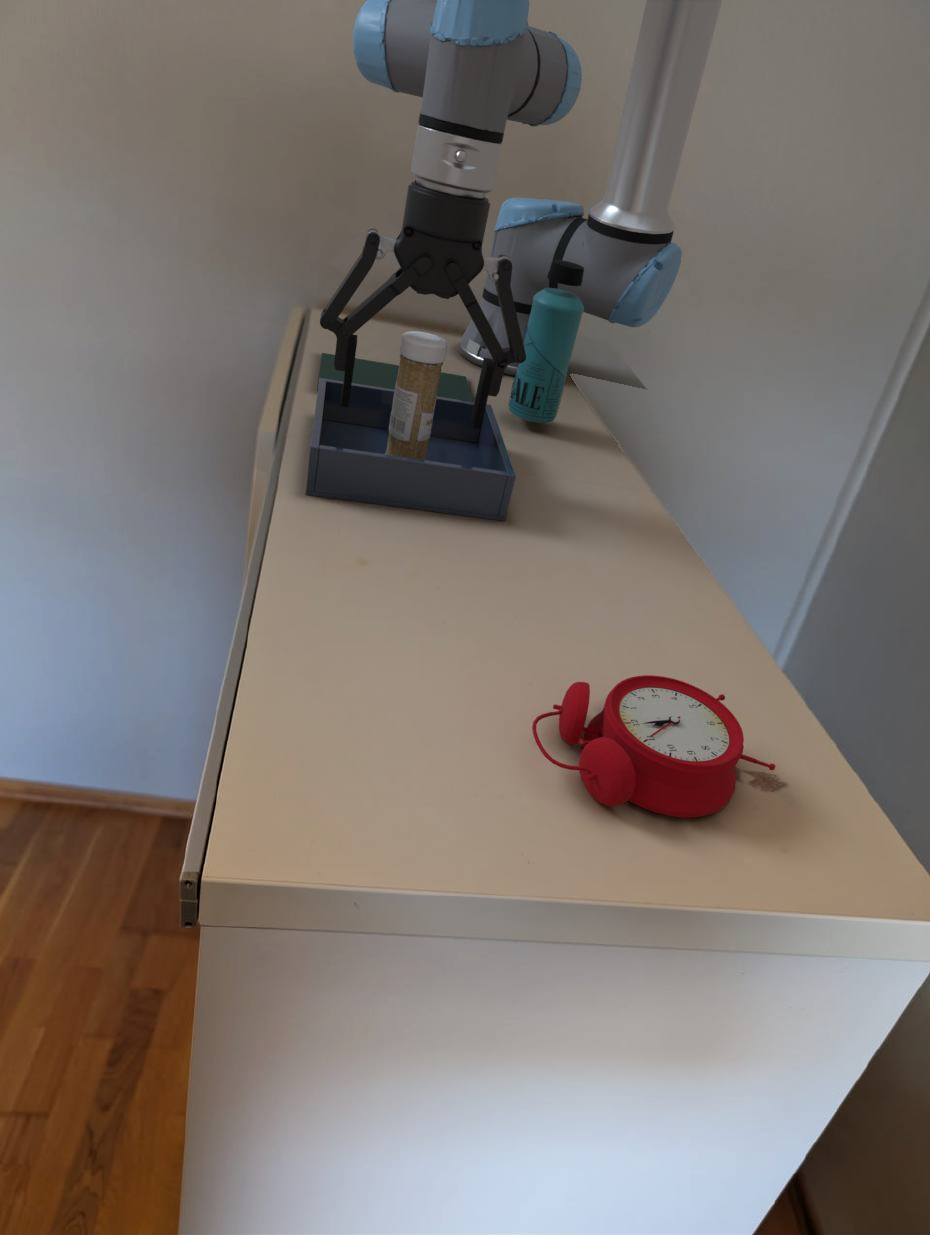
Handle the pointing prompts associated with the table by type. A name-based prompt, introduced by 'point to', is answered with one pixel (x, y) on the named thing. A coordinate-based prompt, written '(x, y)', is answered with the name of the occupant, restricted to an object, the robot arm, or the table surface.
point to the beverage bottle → (548, 346)
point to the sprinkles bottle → (415, 394)
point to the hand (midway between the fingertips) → (411, 413)
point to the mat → (392, 377)
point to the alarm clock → (654, 745)
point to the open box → (445, 482)
